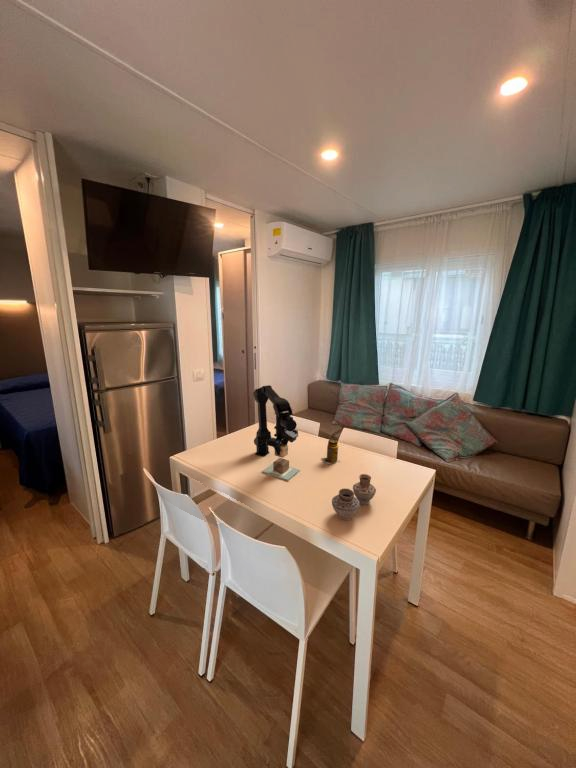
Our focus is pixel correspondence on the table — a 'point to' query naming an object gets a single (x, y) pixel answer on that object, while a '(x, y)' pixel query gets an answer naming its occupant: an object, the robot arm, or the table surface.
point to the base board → (285, 476)
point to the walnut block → (281, 465)
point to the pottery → (353, 498)
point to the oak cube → (283, 451)
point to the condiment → (331, 452)
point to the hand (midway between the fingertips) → (281, 452)
